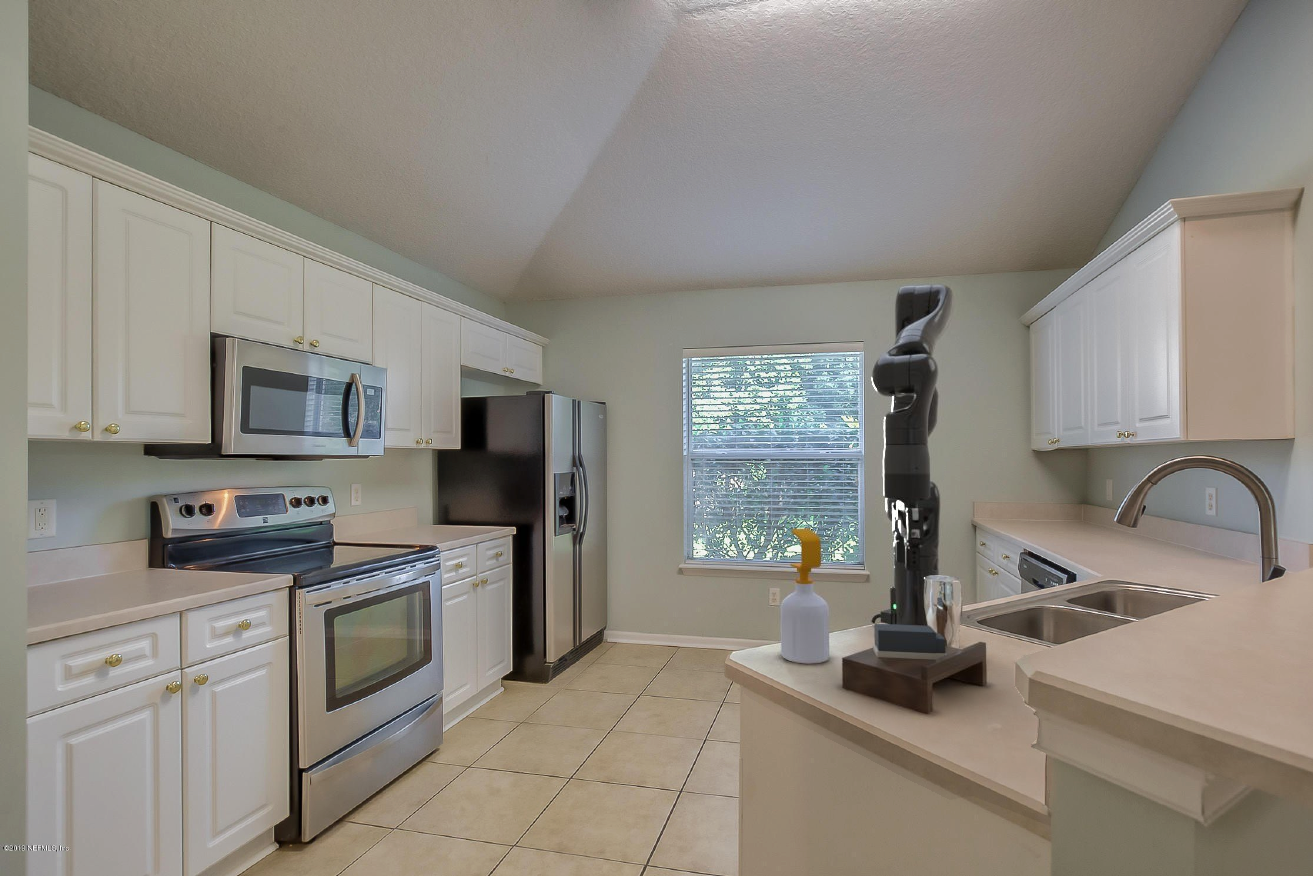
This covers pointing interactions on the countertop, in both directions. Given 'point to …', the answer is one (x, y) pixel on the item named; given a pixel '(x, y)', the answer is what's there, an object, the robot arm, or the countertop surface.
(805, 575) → the soap bottle
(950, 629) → the beer glass
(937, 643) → the stepped grey pillar
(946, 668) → the board
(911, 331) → the robot arm
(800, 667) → the countertop surface
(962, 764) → the countertop surface
